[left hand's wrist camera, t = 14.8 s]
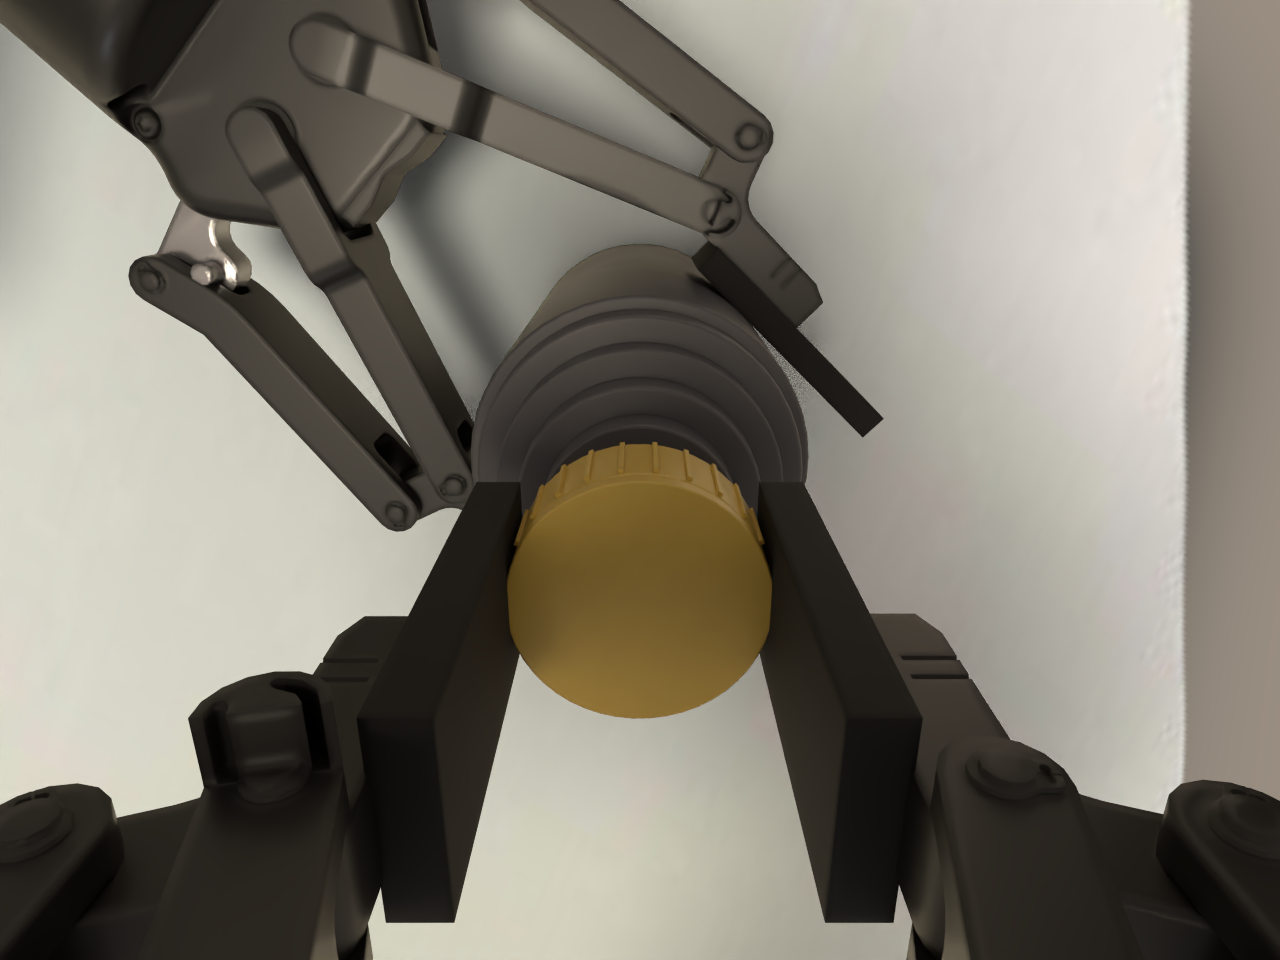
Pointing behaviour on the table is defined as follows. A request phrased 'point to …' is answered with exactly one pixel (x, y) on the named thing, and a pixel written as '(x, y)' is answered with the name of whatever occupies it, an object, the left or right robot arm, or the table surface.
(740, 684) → the table surface
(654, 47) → the right robot arm
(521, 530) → the cap
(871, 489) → the table surface
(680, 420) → the bottle
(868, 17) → the table surface
